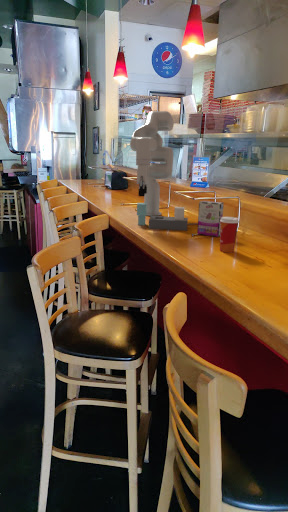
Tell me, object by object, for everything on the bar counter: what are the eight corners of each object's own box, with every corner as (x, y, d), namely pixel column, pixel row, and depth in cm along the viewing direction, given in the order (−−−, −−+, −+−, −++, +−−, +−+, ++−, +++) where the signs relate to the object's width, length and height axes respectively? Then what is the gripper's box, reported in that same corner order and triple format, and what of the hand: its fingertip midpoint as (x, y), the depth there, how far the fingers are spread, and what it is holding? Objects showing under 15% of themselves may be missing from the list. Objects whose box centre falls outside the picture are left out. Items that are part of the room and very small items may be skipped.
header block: (150, 224, 203) (151, 205, 199) (187, 226, 200) (188, 206, 197) (148, 228, 193) (149, 207, 190) (187, 230, 191) (188, 209, 188)
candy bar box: (221, 235, 183) (224, 202, 178) (218, 237, 178) (221, 203, 174) (200, 232, 188) (202, 200, 183) (196, 234, 183) (198, 201, 179)
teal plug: (137, 223, 206) (138, 202, 203) (146, 223, 205) (147, 203, 202) (136, 225, 201) (137, 204, 198) (145, 225, 201) (146, 204, 197)
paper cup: (222, 247, 160) (225, 215, 156) (239, 250, 155) (242, 218, 151) (213, 251, 154) (216, 218, 150) (230, 254, 149) (233, 220, 145)
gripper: (138, 160, 202) (138, 192, 208) (133, 163, 186) (133, 197, 192) (152, 161, 202) (151, 192, 207) (148, 163, 185) (147, 197, 191)
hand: (142, 194), depth 199 cm, fingers open, 9 cm apart
